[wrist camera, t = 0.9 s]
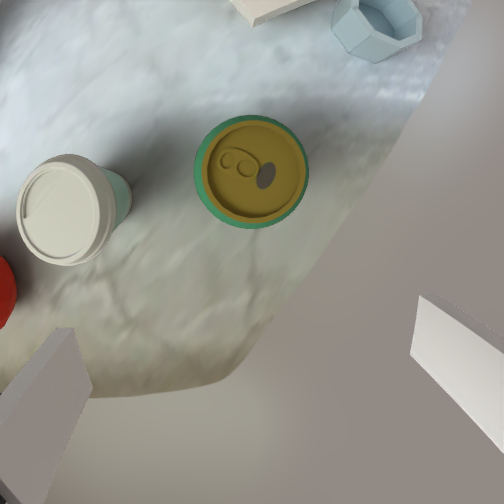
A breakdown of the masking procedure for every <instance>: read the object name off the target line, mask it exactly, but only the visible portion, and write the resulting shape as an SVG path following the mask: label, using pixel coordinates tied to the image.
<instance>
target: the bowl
mask: <svg viewBox="0 0 504 504" xmlns="http://www.w3.org/2000/svg"><path fill="white" fill-rule="evenodd" d="M422 20H423V16H422V14H421V13H420V12H419V10H418V9H417V7H416V6H415V5H414V3H413V2H412V1H411V0H340V1H339V3H338V4H337V5H336V6H335V8H334V14H333V20H332V26H331V30H332V31H333V33H334V34H335V35H336V37H337V38H338V39H339V41H340V42H341V44H342V45H343V46H344V48H345V49H346V51H347V52H348V53H349V54H352V55H354V56H357V57H360V58H362V59H365V60H368V61H370V62H373V63H378V62H380V61H382V60H384V59H386V58H389V57H391V56H393V55H395V54H397V53H399V52H400V51H402V50H404V49H406V48H407V47H409V46H411V45H413V44H415V43H417V42H418V41H420V40H422Z"/></svg>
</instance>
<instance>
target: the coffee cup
mask: <svg viewBox="0 0 504 504" xmlns="http://www.w3.org/2000/svg"><path fill="white" fill-rule="evenodd" d="M131 205H132V192H131V189H130V186H129V184H128V183H127V181H126V180H125V179H124V178H123V177H122V176H121V175H119V174H117V173H115V172H112V171H110V170H107V169H104V168H101V167H99V166H97V165H96V164H94V163H93V162H92V161H90V160H88V159H87V158H84V157H82V156H78V155H73V154H65V155H59V156H56V157H53V158H51V159H48V160H46V161H45V162H43V163H42V164H40V165H39V166H38V167H37V168H36V169H35V170H34V171H33V172H32V173H31V174H30V175H29V176H28V177H27V178H26V180H25V181H24V183H23V185H22V187H21V189H20V192H19V195H18V199H17V206H16V218H17V224H18V228H19V232H20V234H21V237H22V239H23V241H24V242H25V244H26V246H27V247H28V248H29V249H30V251H31V252H32V253H33V254H35V255H36V256H37V257H38V258H40V259H41V260H43V261H45V262H48V263H52V264H57V265H62V266H72V265H77V264H81V263H84V262H87V261H89V260H91V259H92V258H94V257H95V256H96V255H97V254H99V253H100V252H101V250H102V249H103V248H104V247H105V245H106V244H107V242H108V240H109V238H110V236H111V234H112V232H113V231H114V230H115V229H116V228H117V227H118V226H119V224H120V223H121V222H122V221H123V220H124V219H125V217H126V216H127V215H128V213H129V211H130V209H131Z"/></svg>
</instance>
